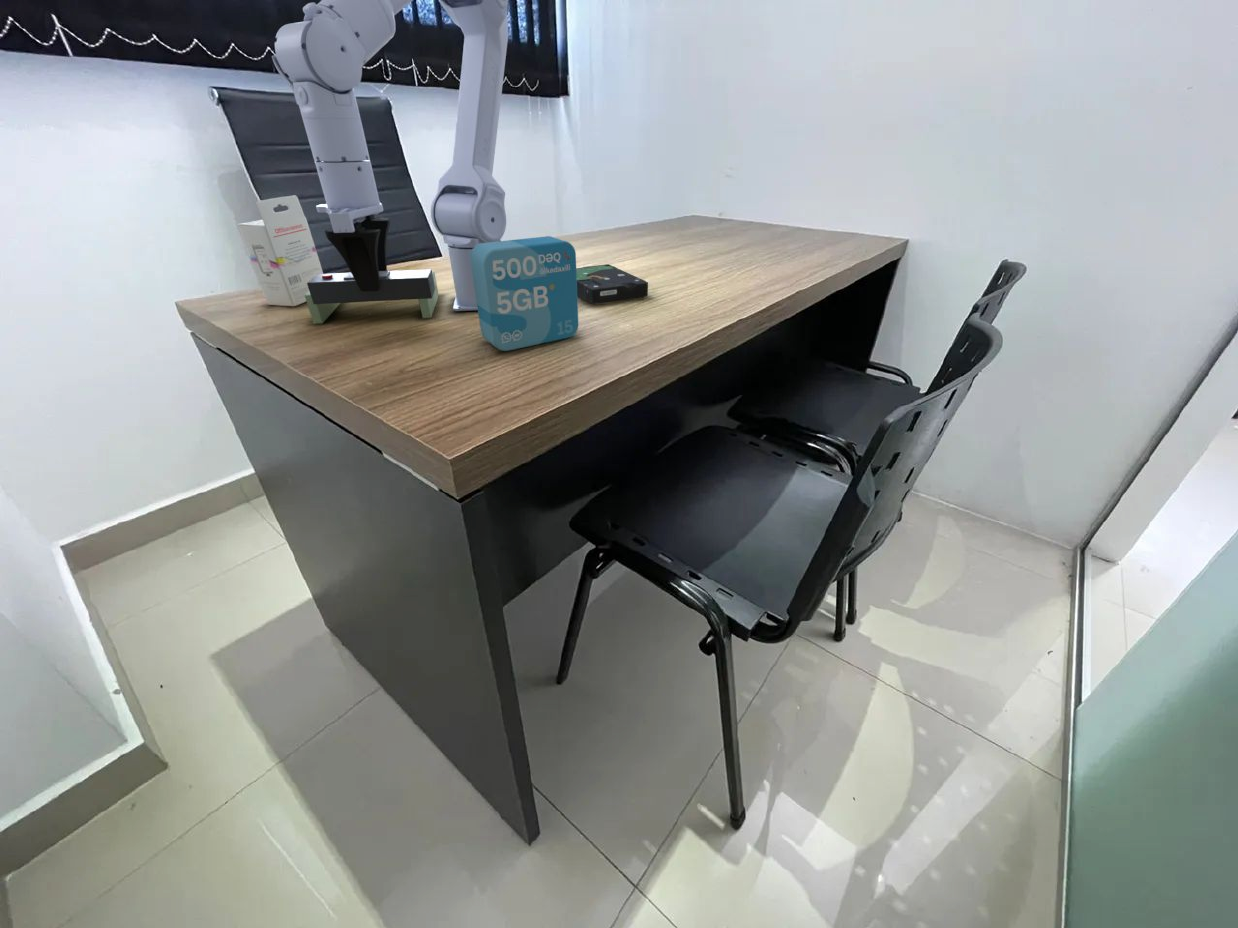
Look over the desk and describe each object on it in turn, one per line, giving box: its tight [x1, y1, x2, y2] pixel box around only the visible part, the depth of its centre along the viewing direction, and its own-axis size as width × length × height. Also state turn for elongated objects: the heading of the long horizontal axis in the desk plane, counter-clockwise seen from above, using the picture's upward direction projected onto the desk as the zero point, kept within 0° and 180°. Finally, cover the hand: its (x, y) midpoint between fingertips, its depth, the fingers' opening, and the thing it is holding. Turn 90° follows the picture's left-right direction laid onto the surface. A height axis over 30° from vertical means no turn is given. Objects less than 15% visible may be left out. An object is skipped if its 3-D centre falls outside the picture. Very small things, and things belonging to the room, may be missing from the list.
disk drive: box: [576, 263, 649, 305], centre depth 87 cm, size 10×3×15 cm
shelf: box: [305, 270, 440, 325], centre depth 77 cm, size 16×12×4 cm
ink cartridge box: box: [236, 194, 324, 307], centre depth 79 cm, size 9×5×15 cm, turn 168°
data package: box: [470, 235, 579, 352], centre depth 64 cm, size 12×4×12 cm, turn 124°
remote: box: [307, 268, 435, 304], centre depth 65 cm, size 14×4×3 cm, turn 101°
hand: (374, 285), depth 65 cm, fingers closed on remote, 4 cm apart
